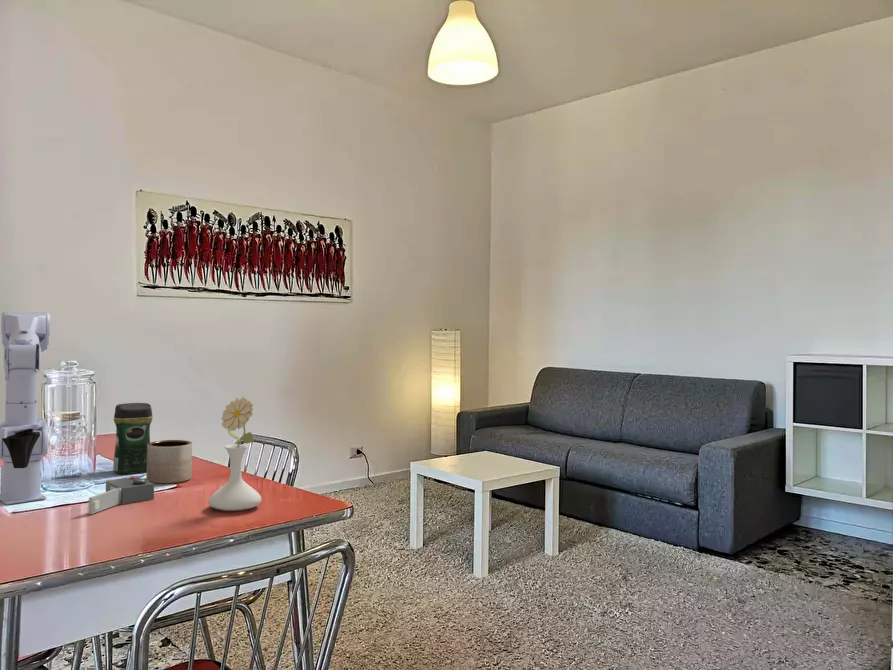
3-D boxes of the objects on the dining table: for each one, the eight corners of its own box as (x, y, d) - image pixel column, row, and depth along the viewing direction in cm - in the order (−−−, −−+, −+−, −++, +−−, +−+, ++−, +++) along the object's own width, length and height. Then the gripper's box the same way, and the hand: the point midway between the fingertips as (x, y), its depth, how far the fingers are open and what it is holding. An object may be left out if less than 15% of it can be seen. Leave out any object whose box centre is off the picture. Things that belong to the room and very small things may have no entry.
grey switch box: (105, 495, 161) (105, 477, 161) (136, 491, 166) (136, 473, 166) (122, 504, 154) (122, 485, 154) (153, 499, 159) (154, 480, 159)
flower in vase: (200, 506, 154) (202, 394, 153) (248, 499, 161) (251, 392, 161) (223, 519, 144) (225, 400, 143) (273, 511, 151) (276, 397, 151)
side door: (93, 514, 145) (94, 498, 145) (88, 513, 145) (88, 497, 145) (123, 503, 154) (123, 487, 154) (117, 502, 154) (118, 487, 154)
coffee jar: (148, 467, 193) (150, 400, 193) (154, 472, 186) (155, 403, 186) (110, 470, 188) (112, 402, 188) (114, 475, 181) (116, 405, 181)
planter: (192, 483, 175) (193, 445, 175) (145, 486, 171) (146, 447, 171) (191, 474, 185) (191, 439, 185) (147, 476, 181) (147, 440, 181)
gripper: (20, 406, 136) (18, 475, 136) (60, 399, 150) (58, 461, 150) (-16, 405, 136) (-18, 474, 136) (27, 398, 150) (26, 460, 150)
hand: (20, 467), depth 143 cm, fingers closed
